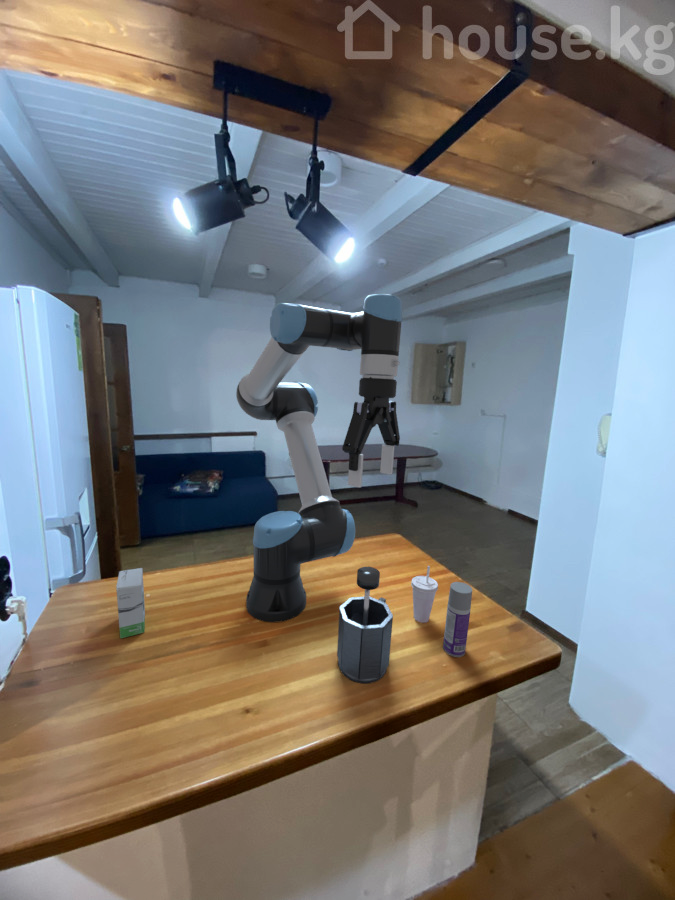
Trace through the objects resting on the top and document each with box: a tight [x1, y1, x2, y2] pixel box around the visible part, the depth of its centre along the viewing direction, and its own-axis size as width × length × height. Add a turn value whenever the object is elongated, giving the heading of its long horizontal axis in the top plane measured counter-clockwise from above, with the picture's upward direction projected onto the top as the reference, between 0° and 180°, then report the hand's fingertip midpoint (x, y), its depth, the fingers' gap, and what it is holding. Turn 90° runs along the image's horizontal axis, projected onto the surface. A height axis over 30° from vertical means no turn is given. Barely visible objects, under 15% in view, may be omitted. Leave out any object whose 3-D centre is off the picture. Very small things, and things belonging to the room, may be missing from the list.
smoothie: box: [410, 565, 439, 624], centre depth 89 cm, size 6×6×14 cm
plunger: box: [356, 566, 381, 626], centre depth 73 cm, size 7×7×17 cm
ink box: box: [115, 567, 146, 639], centre depth 82 cm, size 9×5×12 cm, turn 27°
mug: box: [336, 596, 394, 685], centre depth 75 cm, size 10×13×12 cm
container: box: [442, 581, 473, 658], centre depth 79 cm, size 5×5×15 cm
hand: (371, 479), depth 77 cm, fingers open, 13 cm apart
